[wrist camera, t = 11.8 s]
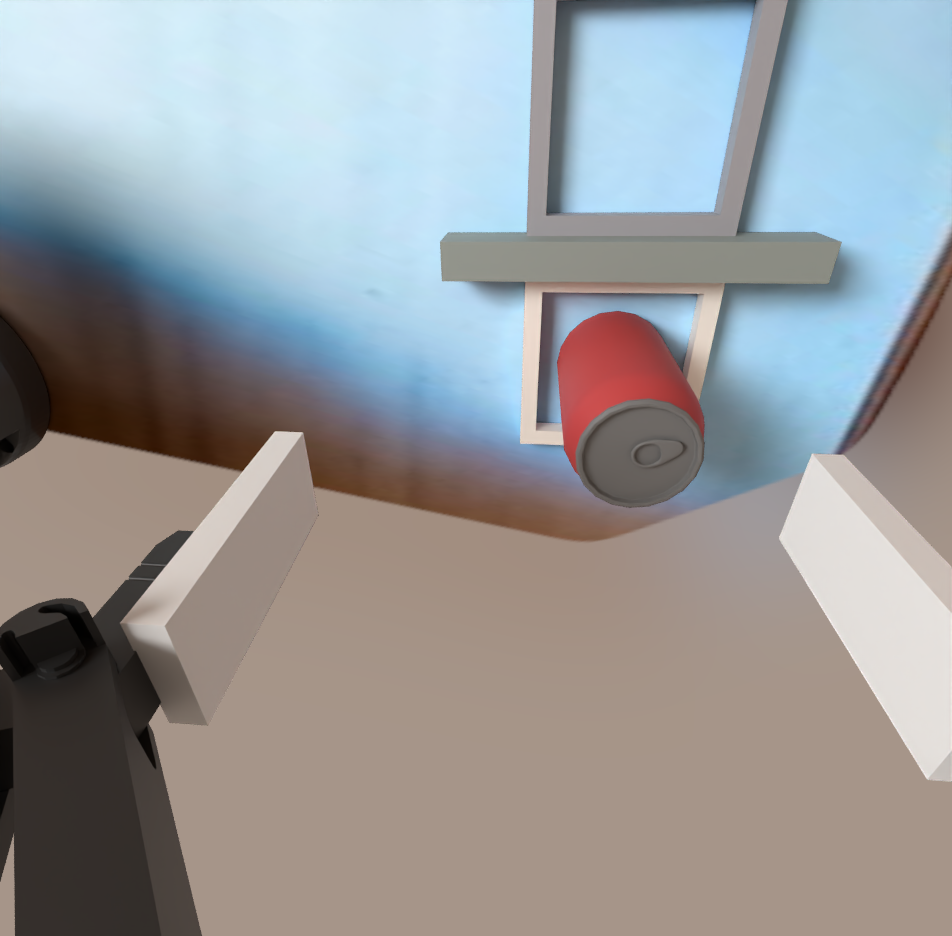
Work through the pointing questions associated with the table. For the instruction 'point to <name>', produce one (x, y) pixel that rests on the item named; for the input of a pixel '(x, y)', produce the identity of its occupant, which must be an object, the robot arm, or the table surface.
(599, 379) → the beer can
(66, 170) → the table surface
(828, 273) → the double frame with crossbar
